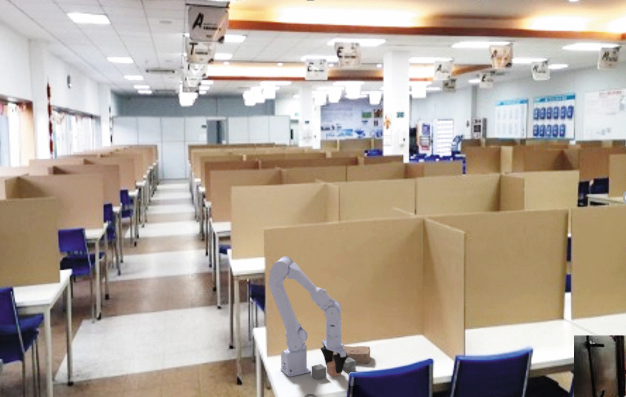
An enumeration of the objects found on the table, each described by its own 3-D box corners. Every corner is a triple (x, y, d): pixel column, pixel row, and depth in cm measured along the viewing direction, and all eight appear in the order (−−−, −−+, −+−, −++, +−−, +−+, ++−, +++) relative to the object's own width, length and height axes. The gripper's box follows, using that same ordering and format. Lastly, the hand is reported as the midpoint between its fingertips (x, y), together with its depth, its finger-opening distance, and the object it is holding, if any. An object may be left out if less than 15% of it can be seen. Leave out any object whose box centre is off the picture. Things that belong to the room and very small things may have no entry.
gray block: (316, 380, 207) (316, 369, 206) (311, 376, 210) (311, 366, 210) (326, 378, 209) (326, 367, 208) (321, 374, 212) (320, 364, 212)
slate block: (346, 373, 213) (346, 363, 212) (341, 369, 216) (341, 359, 216) (355, 371, 215) (355, 360, 214) (350, 367, 218) (350, 357, 218)
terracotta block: (332, 376, 210) (331, 366, 209) (326, 372, 213) (326, 362, 213) (341, 374, 212) (341, 364, 211) (335, 370, 215) (335, 360, 215)
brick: (328, 363, 223) (327, 351, 223) (330, 355, 232) (330, 344, 231) (369, 365, 221) (369, 353, 221) (370, 356, 229) (370, 345, 229)
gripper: (352, 338, 206) (353, 373, 208) (333, 327, 219) (333, 360, 221) (336, 341, 203) (336, 377, 205) (317, 330, 216) (317, 364, 217)
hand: (334, 369), depth 212 cm, fingers open, 7 cm apart
